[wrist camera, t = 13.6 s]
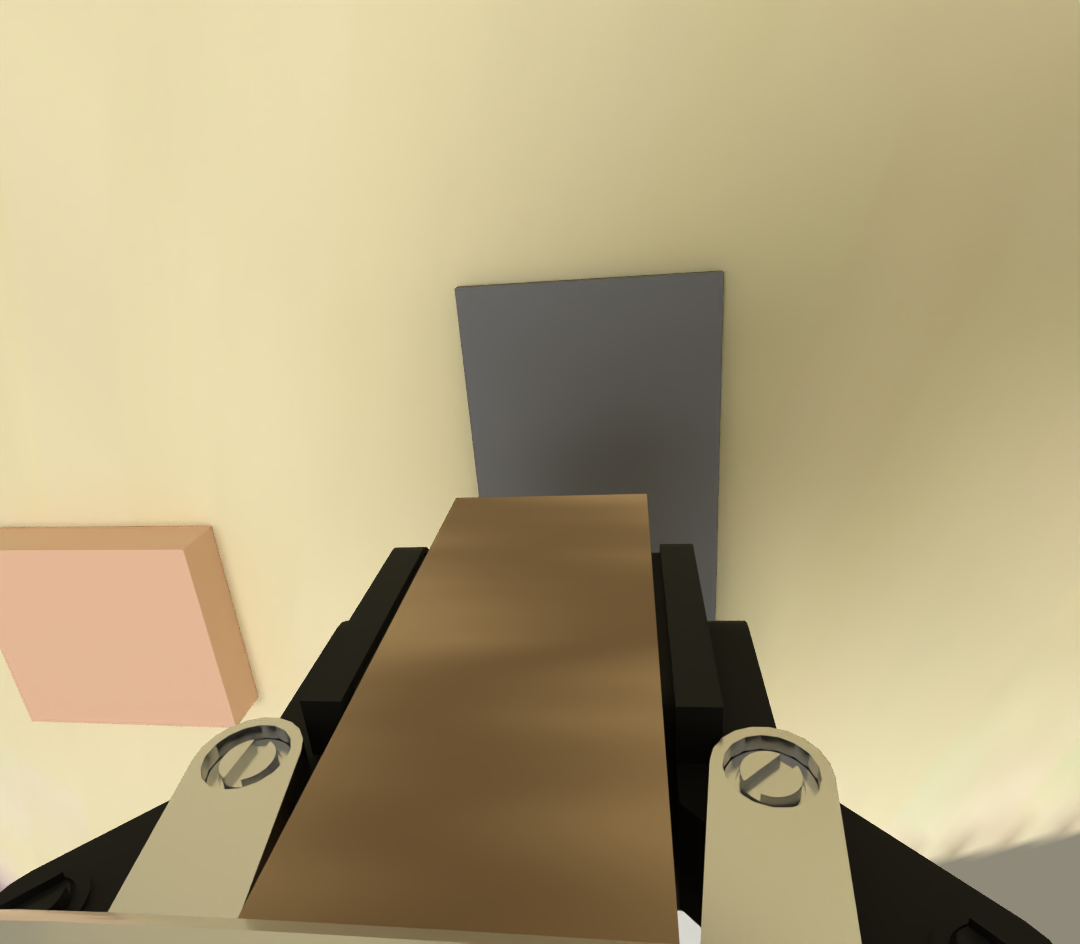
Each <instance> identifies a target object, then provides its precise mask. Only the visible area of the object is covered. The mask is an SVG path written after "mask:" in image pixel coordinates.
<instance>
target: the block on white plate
mask: <svg viewBox="0 0 1080 944" xmlns="http://www.w3.org/2000/svg"><path fill="white" fill-rule="evenodd" d="M238 918H239V919H258V920H278V921H297V922H315V923H333V924H351V925H368V926H386V927H404V928H421V929H438V930H455V931H472V932H489V933H506V934H523V935H540V936H556V937H571V938H587V939H603V940H618V941H634V942H650V943H665V944H700V943H701V927H700V926H699V925H698V924H696V923H695V922H694V921H693V920H692V919H691V918H690V917H689V916H688V915H687V914H686V913H685V912H683V911H677V900H676V887H675V873H674V859H673V846H672V832H671V818H670V805H669V791H668V777H667V764H666V750H665V736H664V723H663V709H662V695H661V682H660V668H659V654H658V641H657V627H656V613H655V599H654V586H653V572H652V558H651V545H650V531H649V517H648V504H647V494H613V495H568V496H524V497H480V498H456V499H455V501H454V503H453V505H452V507H451V509H450V511H449V513H448V515H447V517H446V519H445V520H444V522H443V524H442V526H441V528H440V530H439V532H438V534H437V536H436V538H435V540H434V542H433V543H432V545H431V547H430V549H429V551H428V553H427V555H426V557H425V559H424V561H423V563H422V565H421V567H420V568H419V570H418V572H417V574H416V576H415V578H414V580H413V582H412V584H411V586H410V588H409V590H408V591H407V593H406V595H405V597H404V599H403V601H402V603H401V605H400V607H399V609H398V611H397V613H396V615H395V616H394V618H393V620H392V622H391V624H390V626H389V628H388V630H387V632H386V634H385V636H384V638H383V639H382V641H381V643H380V645H379V647H378V649H377V651H376V653H375V655H374V657H373V659H372V661H371V663H370V664H369V666H368V668H367V670H366V672H365V674H364V676H363V678H362V680H361V682H360V684H359V686H358V688H357V689H356V691H355V693H354V695H353V697H352V699H351V701H350V703H349V705H348V707H347V709H346V711H345V712H344V714H343V716H342V718H341V720H340V722H339V724H338V726H337V728H336V730H335V732H334V734H333V736H332V737H331V739H330V741H329V743H328V745H327V747H326V749H325V751H324V753H323V755H322V757H321V759H320V760H319V762H318V764H317V766H316V768H315V770H314V772H313V774H312V776H311V778H310V780H309V782H308V784H307V785H306V787H305V789H304V791H303V793H302V795H301V797H300V799H299V801H298V803H297V805H296V807H295V808H294V810H293V812H292V814H291V816H290V818H289V820H288V822H287V824H286V826H285V828H284V830H283V832H282V833H281V835H280V837H279V839H278V841H277V843H276V845H275V847H274V849H273V851H272V853H271V855H270V857H269V858H268V860H267V862H266V864H265V866H264V868H263V870H262V872H261V874H260V876H259V878H258V880H257V881H256V883H255V885H254V887H253V889H252V891H251V893H250V895H249V897H248V899H247V901H246V903H245V905H244V906H243V908H242V910H241V912H240V914H239V916H238Z"/></svg>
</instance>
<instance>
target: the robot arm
mask: <svg viewBox="0 0 1080 944" xmlns="http://www.w3.org/2000/svg"><path fill="white" fill-rule="evenodd" d="M428 551H429V549H428V548H427V547H405V548H394V549H393V550H392V552H391V554H390V555H389V557H388V558H387V560H386V562H385V563H384V565H383V566H382V568H381V570H380V571H379V573H378V575H377V576H376V578H375V579H374V581H373V583H372V584H371V586H370V587H369V589H368V591H367V592H366V594H365V596H364V597H363V599H362V600H361V602H360V604H359V605H358V607H357V608H356V610H355V612H354V613H353V615H352V617H351V618H350V620H349V621H345V622H342V623H341V624H340V625H339V626H338V628H337V629H336V631H335V632H334V634H333V635H332V637H331V639H330V640H329V642H328V643H327V645H326V646H325V648H324V650H323V651H322V653H321V654H320V656H319V658H318V659H317V661H316V662H315V664H314V665H313V667H312V669H311V670H310V672H309V673H308V675H307V676H306V678H305V680H304V681H303V683H302V684H301V686H300V687H299V689H298V691H297V692H296V694H295V695H294V697H293V698H292V700H291V702H290V703H289V705H288V706H287V708H286V710H285V711H284V713H283V714H282V716H281V717H280V718H259V719H254V720H249V721H245V722H243V723H240V724H238V725H235V726H232V727H230V728H228V729H227V730H225V731H223V732H221V733H220V734H218V735H216V736H215V737H214V738H212V739H211V740H210V741H209V742H208V743H206V744H205V745H204V746H203V747H202V748H201V749H200V750H199V752H198V753H197V754H196V756H195V757H194V758H193V760H192V761H191V763H190V765H189V767H188V769H187V770H186V772H185V774H184V776H183V778H182V779H181V781H180V783H179V785H178V787H177V788H176V790H175V792H174V794H173V796H172V797H171V799H170V800H169V801H167V802H165V803H163V804H161V805H159V806H157V807H156V808H154V809H152V810H150V811H148V812H146V813H144V814H142V815H140V816H138V817H136V818H134V819H132V820H130V821H128V822H126V823H124V824H122V825H120V826H118V827H117V828H115V829H113V830H111V831H109V832H107V833H105V834H103V835H101V836H99V837H97V838H95V839H93V840H91V841H89V842H87V843H85V844H83V845H81V846H80V847H78V848H76V849H74V850H72V851H70V852H68V853H66V854H64V855H62V856H60V857H58V858H56V859H54V860H52V861H50V862H48V863H46V864H44V865H42V866H41V867H39V868H37V869H35V870H33V871H31V872H29V873H28V874H26V875H24V876H23V877H21V878H19V879H18V880H16V881H15V882H13V883H11V884H10V885H9V886H7V887H6V888H5V889H4V890H3V891H1V892H0V944H665V943H650V942H634V941H618V940H603V939H587V938H571V937H556V936H540V935H523V934H506V933H489V932H472V931H455V930H438V929H421V928H404V927H386V926H368V925H351V924H333V923H315V922H297V921H278V920H258V919H239V918H238V916H239V914H240V912H241V910H242V908H243V906H244V905H245V903H246V901H247V899H248V897H249V895H250V893H251V891H252V889H253V887H254V885H255V883H256V881H257V880H258V878H259V876H260V874H261V872H262V870H263V868H264V866H265V864H266V862H267V860H268V858H269V857H270V855H271V853H272V851H273V849H274V847H275V845H276V843H277V841H278V839H279V837H280V835H281V833H282V832H283V830H284V828H285V826H286V824H287V822H288V820H289V818H290V816H291V814H292V812H293V810H294V808H295V807H296V805H297V803H298V801H299V799H300V797H301V795H302V793H303V791H304V789H305V787H306V785H307V784H308V782H309V780H310V778H311V776H312V774H313V772H314V770H315V768H316V766H317V764H318V762H319V760H320V759H321V757H322V755H323V753H324V751H325V749H326V747H327V745H328V743H329V741H330V739H331V737H332V736H333V734H334V732H335V730H336V728H337V726H338V724H339V722H340V720H341V718H342V716H343V714H344V712H345V711H346V709H347V707H348V705H349V703H350V701H351V699H352V697H353V695H354V693H355V691H356V689H357V688H358V686H359V684H360V682H361V680H362V678H363V676H364V674H365V672H366V670H367V668H368V666H369V664H370V663H371V661H372V659H373V657H374V655H375V653H376V651H377V649H378V647H379V645H380V643H381V641H382V639H383V638H384V636H385V634H386V632H387V630H388V628H389V626H390V624H391V622H392V620H393V618H394V616H395V615H396V613H397V611H398V609H399V607H400V605H401V603H402V601H403V599H404V597H405V595H406V593H407V591H408V590H409V588H410V586H411V584H412V582H413V580H414V578H415V576H416V574H417V572H418V570H419V568H420V567H421V565H422V563H423V561H424V559H425V557H426V555H427V553H428ZM651 558H652V572H653V586H654V599H655V613H656V627H657V641H658V654H659V668H660V682H661V695H662V709H663V723H664V736H665V750H666V764H667V777H668V791H669V805H670V818H671V832H672V846H673V859H674V873H675V887H676V900H677V911H683V912H685V913H686V914H687V915H688V916H689V917H690V918H691V919H692V920H693V921H694V922H695V923H696V924H698V925H699V926H700V927H701V943H700V944H1052V943H1051V941H1050V940H1049V939H1047V938H1046V937H1045V936H1044V935H1042V934H1041V933H1040V932H1038V931H1037V930H1036V929H1034V928H1033V927H1032V926H1030V925H1029V924H1028V923H1026V922H1025V921H1024V920H1022V919H1021V918H1019V917H1018V916H1016V915H1014V914H1013V913H1011V912H1010V911H1008V910H1007V909H1005V908H1003V907H1002V906H1000V905H999V904H997V903H995V902H994V901H992V900H991V899H989V898H988V897H986V896H985V895H983V894H982V893H980V892H978V891H977V890H975V889H974V888H972V887H971V886H969V885H967V884H966V883H964V882H962V881H961V880H960V879H958V878H956V877H955V876H953V875H952V874H950V873H949V872H947V871H945V870H944V869H942V868H941V867H939V866H937V865H936V864H935V863H933V862H931V861H930V860H928V859H927V858H925V857H924V856H922V855H920V854H919V853H917V852H916V851H914V850H913V849H911V848H909V847H908V846H906V845H905V844H903V843H902V842H900V841H898V840H897V839H895V838H894V837H892V836H891V835H889V834H888V833H886V832H884V831H883V830H881V829H880V828H878V827H877V826H875V825H873V824H872V823H870V822H869V821H867V820H866V819H864V818H862V817H861V816H859V815H858V814H856V813H855V812H853V811H851V810H850V809H848V808H847V807H845V806H844V805H842V804H841V803H840V802H839V796H838V790H837V783H836V777H835V775H834V772H833V769H832V767H831V764H830V762H829V761H828V760H827V758H826V757H825V756H824V755H823V754H822V752H821V751H820V750H819V749H818V748H816V747H815V746H814V745H812V744H811V743H810V742H808V741H807V740H806V739H804V738H802V737H799V736H797V735H795V734H793V733H790V732H788V731H784V730H780V729H776V725H775V722H774V718H773V714H772V711H771V707H770V704H769V700H768V696H767V693H766V689H765V685H764V682H763V678H762V675H761V671H760V667H759V664H758V660H757V656H756V653H755V649H754V646H753V642H752V638H751V635H750V631H749V628H748V625H747V622H745V621H707V617H706V611H705V606H704V601H703V595H702V590H701V585H700V579H699V574H698V569H697V563H696V558H695V553H694V547H693V544H660V550H659V552H658V553H651Z"/></svg>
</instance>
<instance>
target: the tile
mask: <svg viewBox="0 0 1080 944" xmlns="http://www.w3.org/2000/svg"><path fill="white" fill-rule="evenodd" d="M0 649H1V651H2V654H3V656H4V658H5V660H6V663H7V665H8V667H9V670H10V672H11V674H12V676H13V679H14V681H15V683H16V686H17V688H18V690H19V692H20V695H21V697H22V699H23V702H24V704H25V706H26V708H27V711H28V713H29V715H30V718H31V720H32V721H39V722H71V723H102V724H133V725H165V726H196V727H228V728H230V727H232V726H235V725H238V724H239V723H240V722H241V720H242V719H243V717H244V716H245V715H246V713H247V712H248V710H249V709H250V708H251V706H252V705H253V703H254V702H255V700H256V699H257V698H258V693H257V690H256V686H255V682H254V679H253V675H252V672H251V668H250V664H249V661H248V657H247V653H246V650H245V646H244V643H243V639H242V635H241V632H240V628H239V624H238V621H237V617H236V614H235V610H234V606H233V603H232V599H231V595H230V592H229V588H228V585H227V581H226V577H225V574H224V570H223V566H222V563H221V559H220V556H219V552H218V548H217V545H216V541H215V537H214V534H213V530H212V527H211V526H122V527H3V528H0Z"/></svg>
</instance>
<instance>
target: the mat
mask: <svg viewBox="0 0 1080 944" xmlns="http://www.w3.org/2000/svg"><path fill="white" fill-rule="evenodd" d="M723 283H724V272H723V271H709V272H693V273H676V274H660V275H643V276H627V277H610V278H594V279H577V280H561V281H544V282H528V283H511V284H495V285H478V286H462V287H456V288H455V296H456V304H457V313H458V321H459V330H460V338H461V347H462V355H463V364H464V372H465V380H466V389H467V397H468V406H469V414H470V423H471V431H472V440H473V448H474V457H475V465H476V474H477V482H478V491H479V498H480V497H524V496H568V495H613V494H647V504H648V517H649V531H650V545H651V553H658V552H659V550H660V544H693V547H694V553H695V558H696V563H697V569H698V574H699V579H700V585H701V590H702V595H703V601H704V606H705V611H706V617H707V621H715V614H716V573H717V531H718V490H719V449H720V407H721V366H722V324H723Z"/></svg>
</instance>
